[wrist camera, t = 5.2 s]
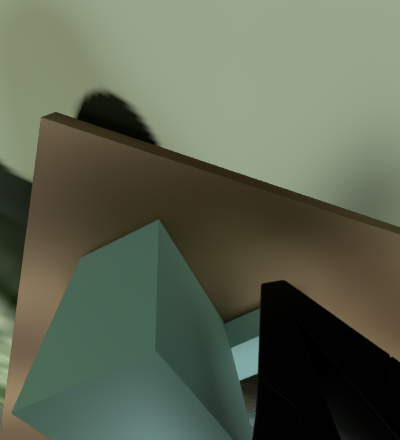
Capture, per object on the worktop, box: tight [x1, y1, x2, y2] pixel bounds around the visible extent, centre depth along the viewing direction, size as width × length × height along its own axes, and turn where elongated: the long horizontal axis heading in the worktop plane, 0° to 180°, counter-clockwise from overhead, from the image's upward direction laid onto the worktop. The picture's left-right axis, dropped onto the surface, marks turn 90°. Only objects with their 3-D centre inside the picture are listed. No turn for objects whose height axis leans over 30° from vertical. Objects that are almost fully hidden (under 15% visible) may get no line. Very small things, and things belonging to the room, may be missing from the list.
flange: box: [11, 219, 260, 440], centre depth 11 cm, size 14×9×5 cm, turn 26°
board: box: [0, 112, 400, 440], centre depth 14 cm, size 18×20×1 cm
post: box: [239, 374, 258, 434], centre depth 12 cm, size 3×3×4 cm
